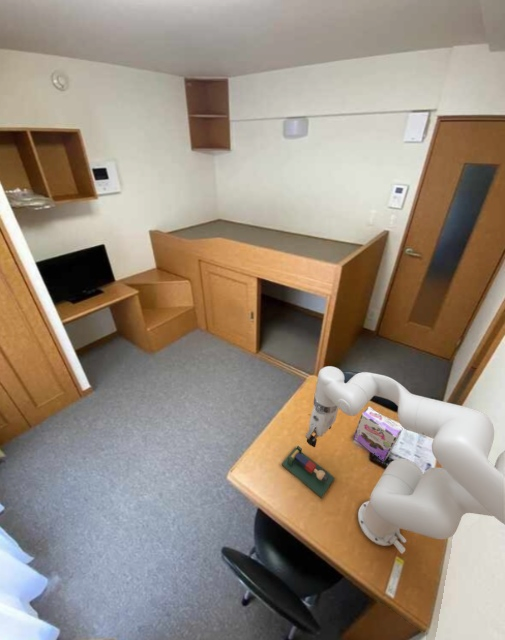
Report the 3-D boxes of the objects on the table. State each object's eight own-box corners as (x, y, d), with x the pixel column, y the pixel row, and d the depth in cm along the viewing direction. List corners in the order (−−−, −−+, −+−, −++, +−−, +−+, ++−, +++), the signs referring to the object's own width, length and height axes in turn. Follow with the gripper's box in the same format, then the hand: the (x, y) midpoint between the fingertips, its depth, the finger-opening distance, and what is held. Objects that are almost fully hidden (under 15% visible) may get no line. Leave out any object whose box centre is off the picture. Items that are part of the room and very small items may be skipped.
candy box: (352, 438, 117) (361, 413, 108) (359, 430, 121) (369, 405, 111) (383, 462, 109) (396, 437, 100) (390, 453, 112) (403, 428, 103)
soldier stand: (334, 479, 103) (336, 471, 100) (321, 498, 98) (323, 490, 95) (295, 448, 113) (296, 440, 110) (281, 465, 108) (282, 456, 105)
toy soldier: (329, 477, 101) (330, 473, 99) (323, 486, 99) (324, 481, 97) (296, 452, 109) (296, 447, 107) (289, 459, 107) (290, 454, 105)
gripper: (321, 425, 80) (314, 459, 89) (350, 392, 90) (341, 426, 100) (299, 411, 84) (295, 444, 94) (330, 381, 95) (323, 413, 104)
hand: (319, 435), depth 97 cm, fingers open, 9 cm apart
